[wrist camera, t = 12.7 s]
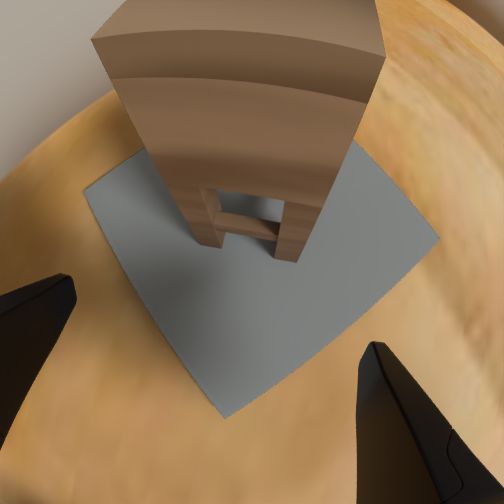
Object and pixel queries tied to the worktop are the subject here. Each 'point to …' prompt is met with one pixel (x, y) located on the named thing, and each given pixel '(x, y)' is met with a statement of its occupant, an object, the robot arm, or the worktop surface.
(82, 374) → the worktop surface
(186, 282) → the mat
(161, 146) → the stool
